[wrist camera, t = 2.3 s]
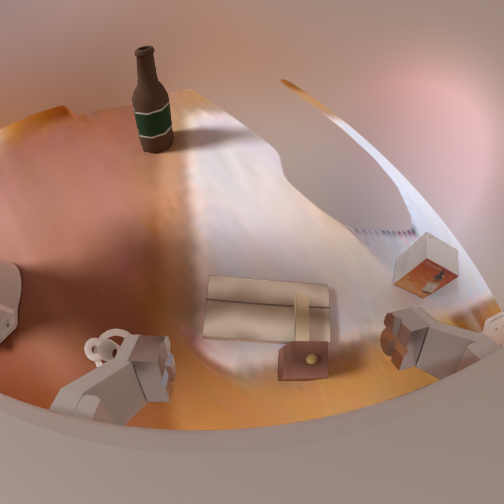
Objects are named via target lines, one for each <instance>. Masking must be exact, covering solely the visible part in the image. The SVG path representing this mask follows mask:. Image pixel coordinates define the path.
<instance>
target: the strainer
mask: <svg viewBox="0 0 504 504" xmlns="http://www.w3.org/2000/svg"><path fill="white" fill-rule="evenodd" d="M479 333H481V334H484V335H487V336H489V337H490V338H491V339H492V340H494V341H495V342H496V343H497V344H499V345H500V346H501V347H503V346H504V311H502V312H500V313H498V314H496V315H494V316H492V317H490V318H488V319H487V320H486V321H485V324H484V329H483V331H481V332H479Z"/></svg>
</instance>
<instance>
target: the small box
mask: <svg viewBox="0 0 504 504" xmlns="http://www.w3.org/2000/svg"><path fill="white" fill-rule="evenodd" d="M457 277H458V250H457V249H455V248H453V247H451V246H449V245H448V244H446V243H444V242H443V241H441V240H439V239H438V238H436V237H434V236H433V235H431V234H430V233H428V232H426V233H425V234H424V235H423V236H422V237H420V238H419V239H418V240H417V241H416V242H415V243H414V244H413V245H412V246H411V247H410V248H409V249H408V250H407V251H406V252H405V253H404V254H402V255H401V256H400V257H399V258H398V259H397V260H396V266H395V274H394V281H393V284H394V285H396V286H398V287H401V288H403V289H405V290H407V291H409V292H411V293H413V294H415V295H417V296H419V297H421V298H425V297H427V296H429V295H430V294H432V293H433V292H435V291H437V290H438V289H440V288H441V287H443V286H444V285H446V284H447V283H449V282H451V281H452V280H454V279H455V278H457Z"/></svg>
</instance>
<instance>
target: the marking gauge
mask: <svg viewBox="0 0 504 504" xmlns="http://www.w3.org/2000/svg"><path fill="white" fill-rule="evenodd" d="M324 378H328V341H309V295H304V294H297V295H296V297H295V339H294V341H291V342H289V343H288V344H287V345H285V346H284V347H283V348H281V349H280V350H279V356H278V381H309V380H317V379H324Z"/></svg>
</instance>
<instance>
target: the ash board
mask: <svg viewBox="0 0 504 504" xmlns="http://www.w3.org/2000/svg"><path fill="white" fill-rule="evenodd" d="M297 294H304V295H309V341H328V343H330V342H331V336H330V309H329V308H330V307H329V291H328V285H326V284H311V283H297V282H283V281H270V280H258V279H246V278H235V277H224V276H213V275H209V283H208V292H207V300H206V309H205V318H204V327H203V338H208V339H218V340H229V341H242V342H256V343H275V344H288V343H289V342H291V341H294V339H295V297H296V295H297Z"/></svg>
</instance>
